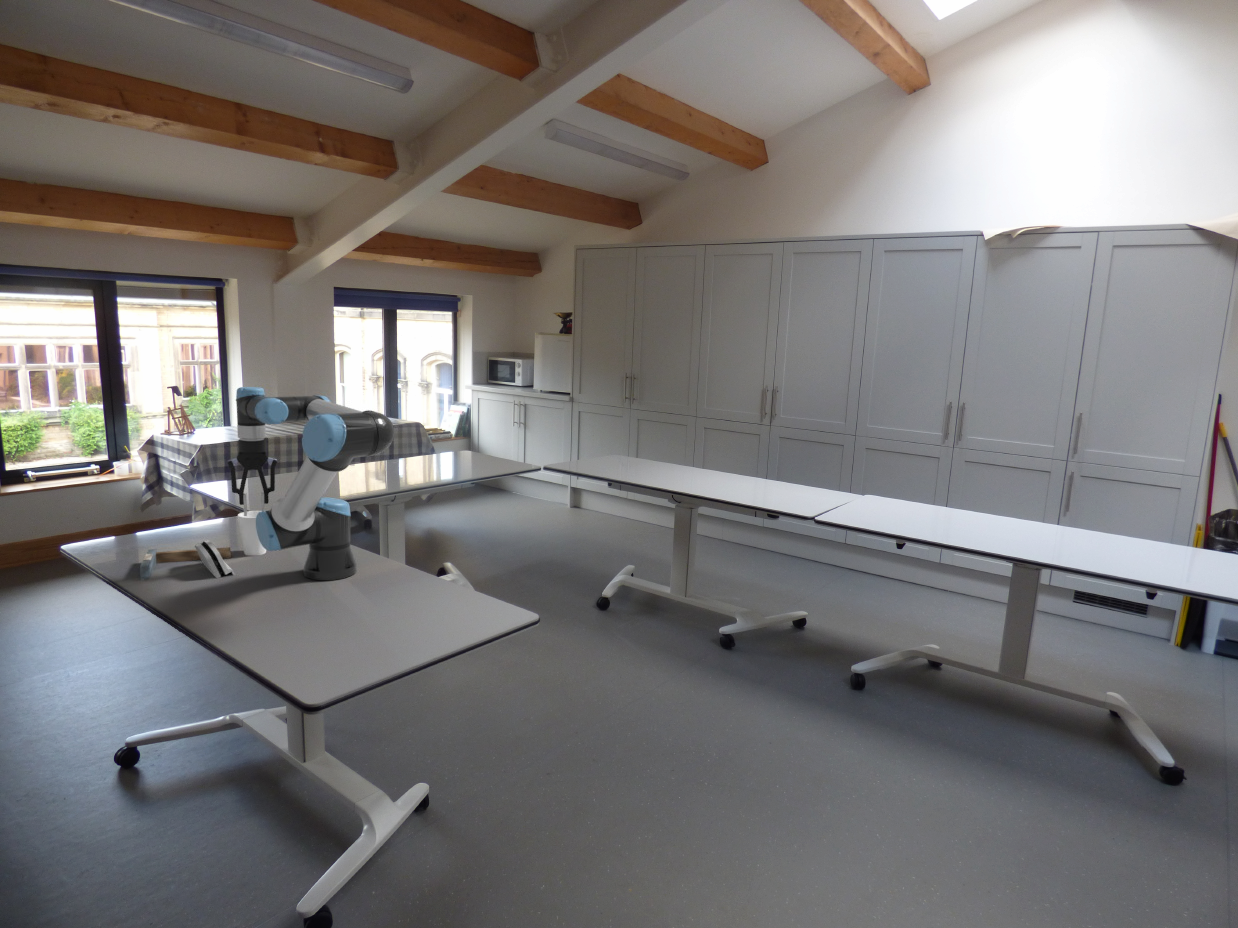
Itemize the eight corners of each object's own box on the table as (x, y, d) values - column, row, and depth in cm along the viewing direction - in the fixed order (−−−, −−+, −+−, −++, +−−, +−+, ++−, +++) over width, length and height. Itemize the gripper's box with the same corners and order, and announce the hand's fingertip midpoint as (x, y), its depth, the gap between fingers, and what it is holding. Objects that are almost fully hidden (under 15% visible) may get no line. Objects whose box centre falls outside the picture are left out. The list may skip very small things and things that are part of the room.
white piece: (235, 575, 213) (221, 546, 209) (219, 583, 210) (204, 554, 206) (220, 560, 225) (207, 533, 221) (205, 567, 222) (191, 540, 219)
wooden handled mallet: (230, 556, 230) (230, 543, 229) (228, 572, 215) (227, 559, 214) (149, 562, 220) (148, 548, 219) (140, 579, 205) (139, 565, 204)
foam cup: (277, 549, 238) (276, 512, 236) (260, 558, 229) (259, 518, 227) (250, 547, 239) (248, 509, 237) (232, 555, 230) (231, 516, 228)
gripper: (283, 436, 222) (285, 510, 226) (220, 437, 214) (223, 513, 218) (283, 440, 215) (285, 515, 219) (218, 441, 207) (221, 519, 211)
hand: (254, 514), depth 218 cm, fingers open, 4 cm apart
